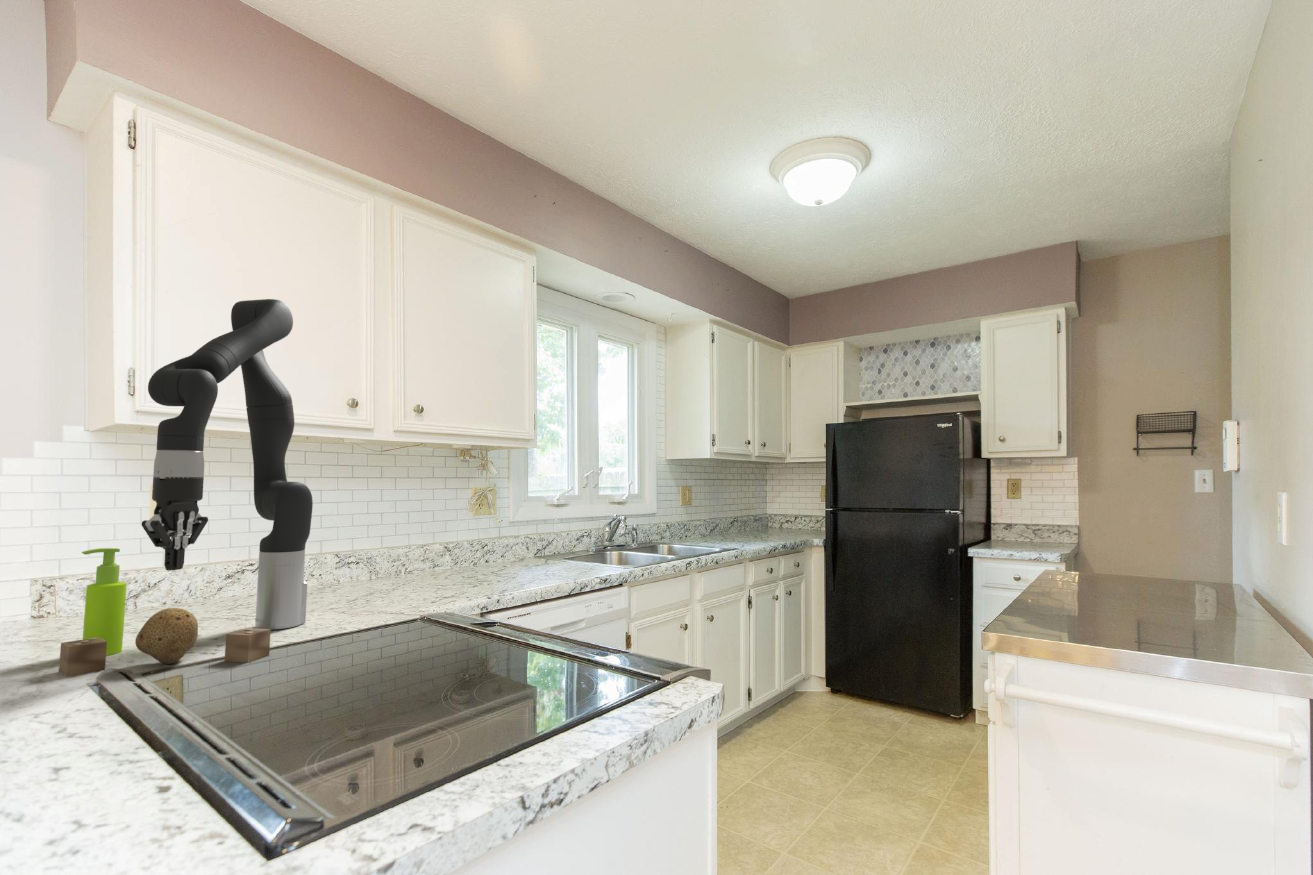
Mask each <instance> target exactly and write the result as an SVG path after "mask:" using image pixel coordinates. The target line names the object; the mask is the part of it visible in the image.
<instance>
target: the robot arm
mask: <svg viewBox="0 0 1313 875" xmlns="http://www.w3.org/2000/svg"><path fill="white" fill-rule="evenodd" d="M230 312H231V313H230V321H231V331H229V332H226V333H224V334H221V335H220V336H217V337H215V338H212V339H211V340H209V341H208V342H206V343H205V344H204V345H202V346H201V347H200V348H198V349H197V350H196V351H194V352H193V353H192V354H191V355H188V356H186V357H182V358H180V359H177V360H175V361H173V362H170V363H167V364H165V365H164V366H162V367H160V368H159V369H157V370H155V372H154V373H152V375H151V377H150V378H149V381H148V384H147V392H148V395H149V396H150V398H151V399H152V401H154V402H155V403H156V404H159V405H160V406H165V407H182V410H181V411H180V414H178V415H177V416H176V417H172V418H166V419H164V420H161V421H160V422H159V423H158V427H157V435H156V436H157V437H156V440H157V441H156V451H155V452H156V453H155V458H154V461H153V476H152V488H151V489H152V493H151V500H152V501H154V502H156V505H155V508H154V509H153V516H152V517H151V518H149V520H146V519H145V520H142V521H141V527H142V529H143V531H145V533H146V535H147V536H148V538H149V539H150V541H151V542H152V543H153V546H154V547H155V548H159V547H160V548H162V549H163V550H164V564H163V565H164V567H165V568H164V569H165V570H166V571H179V570H182V569H183V568H184V563H185V556H186V555H185V554H186V553H185V552H186V549H187V548H188V546H189V545H194V544H195V543H196V541H197V540H198V538H199V536H200V534H201V533H202V531H203V529H204V528H205V526H206V525H207V523H208V521H209V518H208V516H202V515H201V514H200V513H199V506H198V501H201V500H203V499H204V498H203V496H204V480H205V478H204V476H205V458H204V450H205V449H204V448H205V444H204V443H205V431H206V428H207V425H208V421H209V419H210V417H211V413H212V412H213V408H214V406H215V405H216V401H217V398H218V392H219V388H218V387H219V386H218V384H219V383H221V382H223V381H224V380H226V378H228V377H229V376H230V375H231V374H233V372H235V370H237V368H239V367H240V368H241V374H242V381H243V388H244V396H245V407H246V415H247V423H248V428H249V434H250V435H249V436H250V444H251V454H252V461H253V464H252V465H253V503H254V507H255V510H256V513H258V515H259V516H260V517H261V518H263V519H264V520H267V521H273V525H272V529H271V531H270V533H269V534H268V535H266V536H264V537H263V538H262V539H261V540H260V542H259V549H258V550H259V552H258V567H257V568H258V570H257V571H258V572H257V586H256V588H257V589H256V606H255V626H254V628H255V629H271V631H272V630H282V629H289V628H295V627H298V626H300V625H302V624H306V620H307V619H306V618H307V617H306V616H307V600H308V598H307V597H308V582H307V581H304V578H305V556H306V543H307V541H308V539H309V537H310V533H311V525H312V516H313V507H314V506H313V495H312V491H311V490H310V488H309V487H308V485H307V484H305V483H302V482H300V481H299V482H298V481H288V479H287V473H286V467H285V466H286V465H285V464H286V462H285V460H286V453H287V450H288V448H289V444H290V442H291V440H292V436H293V434H294V429H295V413H294V406H293V399H292V396H291V393H290V391H289V390H288V388H287V387H286V386H285V384H284V383H283V382H282V381H281V379H279V377H278V376H277V375H276V374H275V372H274V371H273V370H272V369H271V367H270V365H269V364H268V362H267V359H266V357H265V353H264V349H266V348H267V347H270V346H271V345H273V344H275V343H277V342H278V341H281V340H283V339H285V338H286V337H288V335H290V333H291V331H293V330H292V329H293V328H294V327H293V326H294V318H293V314H292V311H291V309H290V308H289V306H288V305H287V304H286V303H285V302H283V301H282V300H279V299H273V298H265V299H262V298H261V299H250V300H249V299H247V300H240V301H237V302H235V303H234V304H233V306H232V308H231V311H230Z"/></svg>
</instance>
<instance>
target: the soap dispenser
mask: <svg viewBox="0 0 1313 875" xmlns="http://www.w3.org/2000/svg"><path fill="white" fill-rule="evenodd" d="M120 550H121V549H120V548H117V547H116V548H113V547H108V548H107V547H106V548H105V547H103V548H92V549H88V550H84V551H81V553H82V554H83V555H91V554H98V553H103V557H102V564H100V565H98V566H96V571H95V572H96V573H95V582H94V583H91V584H87V585H86V590H85V591H86V592H85V602H84V603H85V605H84V617H83V632H82V640H84V639H89V638H97V637H99V638H101V639H103V640H105V641H107V648H106V657H107V656H112V655H115V654H116V655H117V654H119V653H121V652H122V651H123V643H124V642H123V639H124V628H125V627H124V626H125V625H124V624H125V612H126V611H125V610H126V599H127V597H126V596H127V585H128V583H127V582H125V581H119V579H120V569H121V568H120V565H119V564H117V563H115V560H116V558H115V557H116V553H120Z"/></svg>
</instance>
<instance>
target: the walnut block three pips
mask: <svg viewBox="0 0 1313 875" xmlns="http://www.w3.org/2000/svg"><path fill="white" fill-rule="evenodd" d="M106 648H107V641H105V640H103V639H101V638H99V637H97V638H89V639H84V640H83V639H79V640H72V641H66V642H63V641H62V642H61V643H60V654H59V664H58V665H59V666H58V672H59V673H60V674H61V675H63V676H65V677H66V678H69V677H75V676H79V675H85V674H91V673H97V672H102V670H103V671H106V660H107V656H106Z"/></svg>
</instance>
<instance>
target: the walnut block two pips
mask: <svg viewBox="0 0 1313 875" xmlns="http://www.w3.org/2000/svg"><path fill="white" fill-rule="evenodd" d="M271 631H272V630H271V629H256V628H255V627H254V628H253V627H252V628H251V627H247V628H243V629H239V630H235V631H232V632H229V633H226V634H225V645H224V646H225V647H224V648H225V650H224V662H232V663H245V664H246V663H251V662H255V661H257V660H260V659H263V658H266V657H269V656H270V649H271V648H270V646H271Z"/></svg>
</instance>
